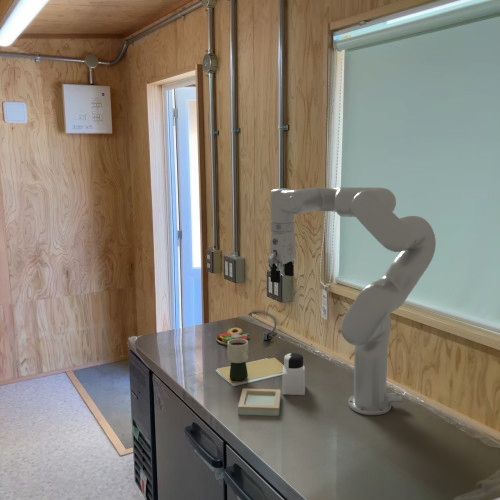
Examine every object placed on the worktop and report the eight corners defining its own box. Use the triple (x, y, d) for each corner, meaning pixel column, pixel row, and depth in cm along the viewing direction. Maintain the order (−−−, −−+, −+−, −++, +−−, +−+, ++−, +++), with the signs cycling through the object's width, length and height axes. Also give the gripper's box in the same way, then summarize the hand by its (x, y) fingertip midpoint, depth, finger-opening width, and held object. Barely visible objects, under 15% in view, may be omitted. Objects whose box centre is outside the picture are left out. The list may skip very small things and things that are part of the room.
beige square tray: (280, 396, 166) (280, 389, 165) (278, 415, 154) (278, 407, 153) (242, 395, 167) (242, 388, 166) (238, 414, 155) (238, 406, 155)
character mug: (255, 382, 177) (254, 345, 174) (235, 386, 174) (234, 349, 171) (241, 370, 186) (240, 335, 184) (223, 374, 183) (221, 338, 181)
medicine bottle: (304, 385, 173) (304, 351, 171) (305, 395, 166) (304, 359, 164) (283, 385, 174) (282, 350, 172) (282, 395, 167) (282, 359, 165)
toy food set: (237, 333, 225) (237, 325, 224) (255, 341, 214) (255, 334, 214) (210, 339, 218) (210, 332, 217) (227, 349, 207) (227, 341, 206)
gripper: (280, 232, 160) (280, 286, 163) (304, 224, 174) (304, 274, 178) (258, 230, 164) (259, 283, 167) (284, 223, 178) (284, 272, 181)
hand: (282, 278), depth 172 cm, fingers open, 9 cm apart
